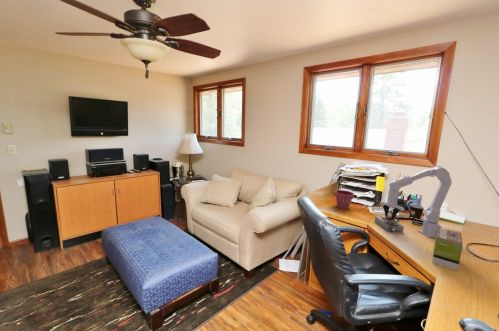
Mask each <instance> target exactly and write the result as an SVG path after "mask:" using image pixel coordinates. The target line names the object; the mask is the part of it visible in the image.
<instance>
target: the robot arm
mask: <svg viewBox="0 0 499 331" xmlns="http://www.w3.org/2000/svg"><path fill="white" fill-rule="evenodd" d="M450 174H451V173H450V172H449V171H448V170H447V169H446V168H444V167H443V166H440V165H435V166H431V167H428V168H427V169H424V170H422V171H420V172H418V173H416V174H415V173H414V174H413V175H411V176H410V175H403V176H402V177H400V178H398V179H397V178H395V180H392V181H390V183H389V185H388V186H389V188H388V190H389V191H388V195H387V200H386V201H380V202H379V204H380V205H381V206H382V205H383V206H382V208H383V213H384V216H387V211H390V208H392V212H393V216H392V219H396V216H397V214H398V213H399V212H400V211H401V212H404V210H405V207H402V206H400V205H398V199H399V193H400V189H401V188H404V187H408V186H410V185H413V182H414V181H417V180H419V179H423V178H426V177H432V178H435V177H436V178H437V180H438V181H439V182H440V183H439V185H438V187H437V189H436V192H435V193H434V194H435V195H433V196H434V197H433V199H432V201H431V203H430V205H429V206H428V207H427V209H425V210H424V211H423V212H424V213H423V214H424V216H425V217H424V218H423V222H422V228H421V229H418V232H420V233H422V234H423V235H425V236H426V237H428V238H434V239H435V238H436V232H437V228H442V226H441V225H440V224H439V221H440V220H441V219H440V218H441V217H440V215H441V208H442V206H443V204H444V201H445V199H446V196H447V194H448V192H449V190H450V188H451V186H452V184H453V182H452V178H451V175H450Z"/></svg>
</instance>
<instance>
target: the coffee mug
mask: <svg viewBox="0 0 499 331" xmlns="http://www.w3.org/2000/svg"><path fill="white" fill-rule="evenodd" d="M407 206H408V207H409V210H408V208H407ZM404 209H405V210H406V211H407V212H408V213H409V218H410V217H413V218H417V219H420V220H421V217H422V215H423V212H424V209H425V207H424V206H422V205H419V204H414V203H412V204H405V205H404Z"/></svg>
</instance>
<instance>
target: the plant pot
mask: <svg viewBox="0 0 499 331" xmlns="http://www.w3.org/2000/svg"><path fill="white" fill-rule="evenodd" d="M334 194H335V198H336V199H335V200H336V206H337V207H338V208H339V209H343V210H347V209H349V208H350V206H351V203H352V200H353V199H354V196H355V195H354V192H353V191H352V192H351V191H350V190H344V189H343V190H342V189H338V190H336V191H335V193H334Z"/></svg>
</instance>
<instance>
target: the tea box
mask: <svg viewBox="0 0 499 331" xmlns="http://www.w3.org/2000/svg"><path fill="white" fill-rule="evenodd" d="M463 245H464V243H463V237H462V233H461V232H459V231H455V230H450V229H447V228H442V227H441V228H437V232H436V238H435V237H434V244H433V252H432V253H433V254H432V262H431V263H432V264H434V263H435V264H434V265H437V264H438V265H437V266H440V265H441V267H443V266H444V268H446V267H448V268H447V269H449V268H451V270H453V269H454V271H456V270H457V271H458V270H459V267H460V266H459V265H460V261H461V256H462V255H461V254H462V251H463ZM457 271H456V272H457Z"/></svg>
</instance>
